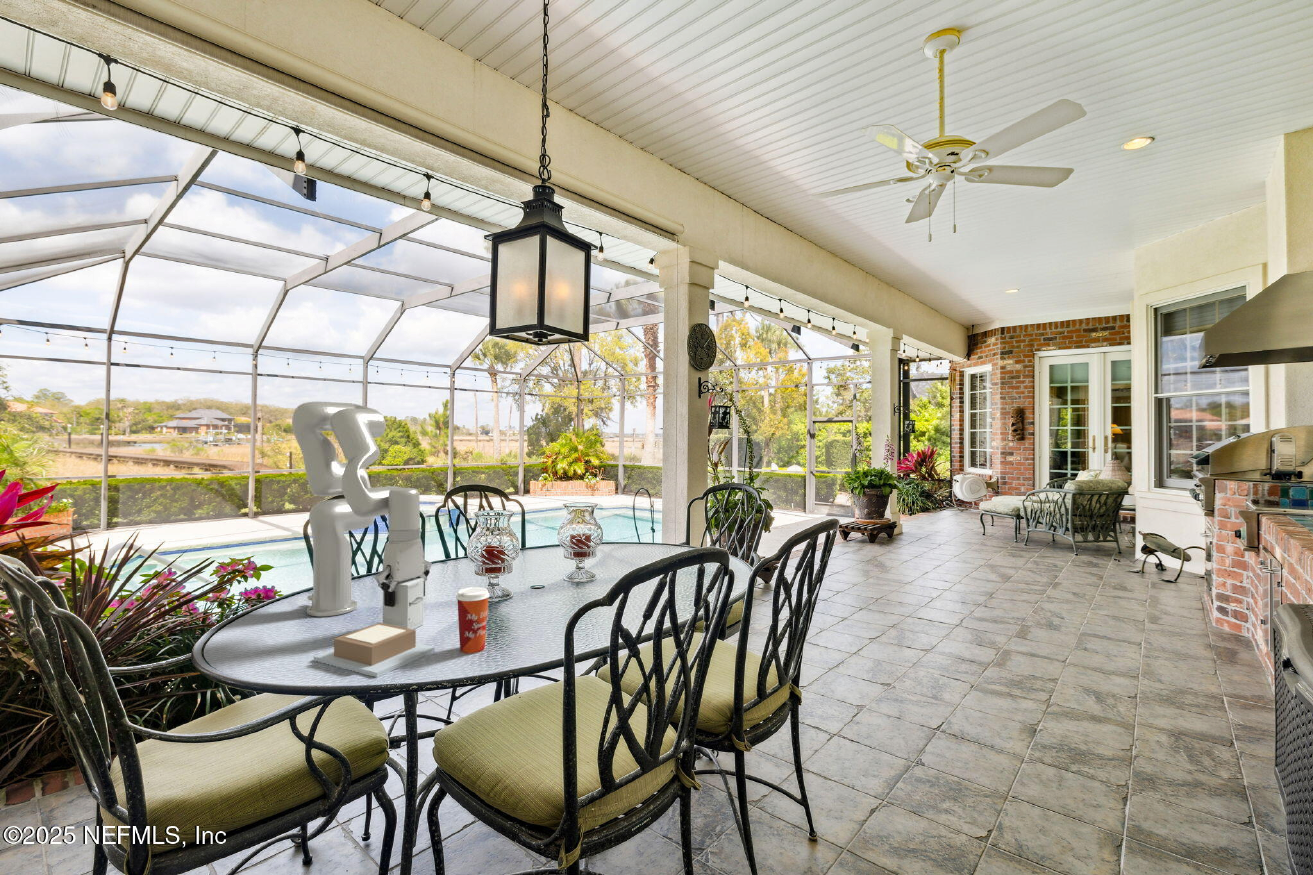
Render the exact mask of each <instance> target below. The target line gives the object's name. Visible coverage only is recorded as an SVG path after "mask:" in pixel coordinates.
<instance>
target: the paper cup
mask: <svg viewBox="0 0 1313 875" xmlns="http://www.w3.org/2000/svg"><path fill="white" fill-rule="evenodd" d="M489 597H490V593H489V591H488V589H487V588H486V587H480V586H478V587H477V586H474V587H473V586H471V587H470V586H469V587H466V588H465V587H464V588H461V589H460V590H458V592H457V595H456V597H455V598H456V601H457V614H458V615H457V617H458V620H457V621H458V636H459V650H460V652H461V653H463V654H468V655H469V654H478V653H480V652H483V651H484V650H485V647H486V638H487V637H486V636H487V624H488V607H489V606H488V605H489Z"/></svg>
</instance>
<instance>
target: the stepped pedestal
mask: <svg viewBox="0 0 1313 875" xmlns="http://www.w3.org/2000/svg"><path fill="white" fill-rule="evenodd" d="M416 632H417V630H416V629H414V630H412V629H408V628H403V627H398V626H393V625H388V624H384V623H383V622H377V623H374V624H372V625H369V626H365V627H362V628H360V629H357V630H354V631H352V632H349V633H347V634H343V635H341V636H338V637H335V638H334V639H333V648H332V649H330V650H328V651H324V652H322V653H319V654H317V655H314V656H313V661H314V662H316V661H318V662H317V663H320V662H321V664H324V663H326V664H325V665H328V664H329V666H332V665H333V666H332V667H335V666H336V667H335V668H339V667H341V668H340V669H343V670H347V669H348V671H351V670H352V671H351V672H354V671H355V673H358V672H359V674H363V675H366V676H371V677H373V676H375V677H374V678H380V677H381V676H384V675H386V674H387V673H388V674H389V673H390V672H392V671H394V670H396V669H398V668H401V667H403V666H406V665H408V664H410V663H412V662H414V661H416V660H419V659H421V658H423V657H426V656H427V655H430V654H432V653H434V652H436V647H435V646H433V645H427V644H423V643H418V642H416V639H417V637H416V636H417V635H416V634H417V633H416Z"/></svg>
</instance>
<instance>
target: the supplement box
mask: <svg viewBox="0 0 1313 875" xmlns="http://www.w3.org/2000/svg"><path fill="white" fill-rule="evenodd" d="M390 584H391V582H390ZM390 584H389V586H390ZM393 591H395V606H394V607H389V606H385V605H384V591H382V623H384V624H388V625H393V626H398V627H403V628H408V629H412V630H416V629H418V628H419V627H421V626H423V625H424V600H425V596H424V579H423V578H411V579H408V580H404V581H401V582H397V584H396V585H395V587H394V589H393Z"/></svg>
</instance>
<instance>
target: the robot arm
mask: <svg viewBox="0 0 1313 875" xmlns="http://www.w3.org/2000/svg"><path fill="white" fill-rule="evenodd" d="M291 426H292V432H293V435H294V438H295V440H296V443H297V444H298V446H299V449H300V450H301V454H302V457H303V458H302V459H303V465H304V470H305V474H306V478H307V483H308V486H309V489H310V491H311V494H313V495H314V496H316V497H334V496H344V498H337V499H328V500H323V501H319V502H318V503H316V504H314V505H313V506H312V508H311V509H310V511H309V515H308V518H309V519H308V520H309V525H310V530H311V531H310V532H311V535H312V545H313V546H312V547H313V548H312V551H313V554H312V555H313V556H312V557H313V558H312V560H313V562H312V563H313V565H312V567H313V568H312V569H313V571H312V575H313V577H312V580H313V582H312V583H313V584H312V586H313V587H312V588H313V589H312V590H313V591H312V593H311V594H309V595H308V596H307V600H308V601H311V605H309V606H308V607H307V608H306V614H307V615H309V616H312V617H332V616H340V615H342V614H343V615H344V614H346V613H350V612H353V611H354V610H356V609H357V608H358V603H357V601H356V600H353V599H352V545H351V543H350V541H349V540H348V539H347V537H346V536H345V534H344V533H346V532H350V531H356V530H363V529H365V528H369V527H371V526H372V525H373V523H375V519H376V517H380V516H387V517H388V518H387V519H388V522H387V523H388V541H387V542H386V543H385V546H384V552H383V556H382V557H383V560H382V569H381V571H380V572H379V573H378V574H377V575H375V577H374V579H375V581H376V583H377V586H378V587H379V588H380V589H381V591H382V592H383V591H384V605H385V606H389V607H394V606H395V591H393V589H394V587H395V585H396V584H397V582H401V581H404V580H408V579H411V578H423V579H424V597H426V582H427V580H428V576H429V574H430V572H431V571H430V570H431V569H432V565H433V563H432V562H431V561H429V560H426V559H425V552H424V546H423V542H422V538H421V533H422V531H423V530H422V528H420V527H421V523H420V522H421V521H420V520H421V517H420V514H421V512H420V508H421V507H420V504H421V503H420V502H421V501H420V492H419V490H418V489H417V488H415V487H414V488H412V487H401V486H396V485H395V486H394V485H390V486H377V487H371V486H372V485H371V482H370V477H369V474H368V472H367V470H366V467H369V466H370V465H371V464H373V463H374V462H376V461H377V460H378V459H379V458H380V455H381V451H380V448H379V447H378V445H377V443H376V440H375V438H377V439H378V438H381V436H383V435H384V434H385V431H386V428H387V422H386V420H385V417H384V416H383V414H382V413H381V412H380V411H379V410H377V409H374V408H372V407H367V406H363V405H360V404H356V403H352V402H351V403H349V402H332V401H309V402H303V403H300V404H299V405H298V406H297V407H296V408H295V409H294V411H293V414H292V420H291ZM323 432H333V434H334V436H335V438H336V440H337V442H338V445H339V447H340V449H341V452H342V453H343V456H344V457H345V460H346V462H341V461H340V460H339V458H338V454H337V448H336V447H335V445H334V443H333V442H332V441H331V439H329V437H327V436H326V435H325V434H324V433H323ZM390 582H391V584H390ZM389 584H390V586H389Z"/></svg>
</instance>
